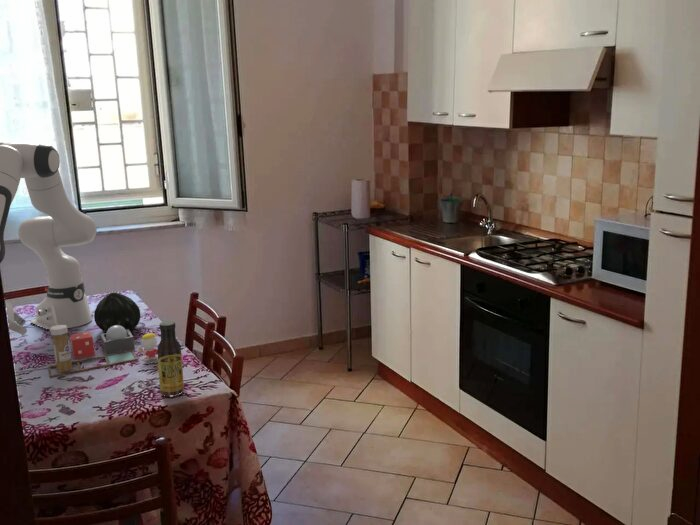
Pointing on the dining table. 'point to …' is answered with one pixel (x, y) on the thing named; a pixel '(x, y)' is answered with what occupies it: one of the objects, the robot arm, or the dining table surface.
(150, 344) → the toy figures
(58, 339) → the sprinkles bottle
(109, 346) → the dome housing
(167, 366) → the sauce bottle
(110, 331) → the dome
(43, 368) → the dining table surface
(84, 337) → the red die
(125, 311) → the squash
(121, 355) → the wooden frame
